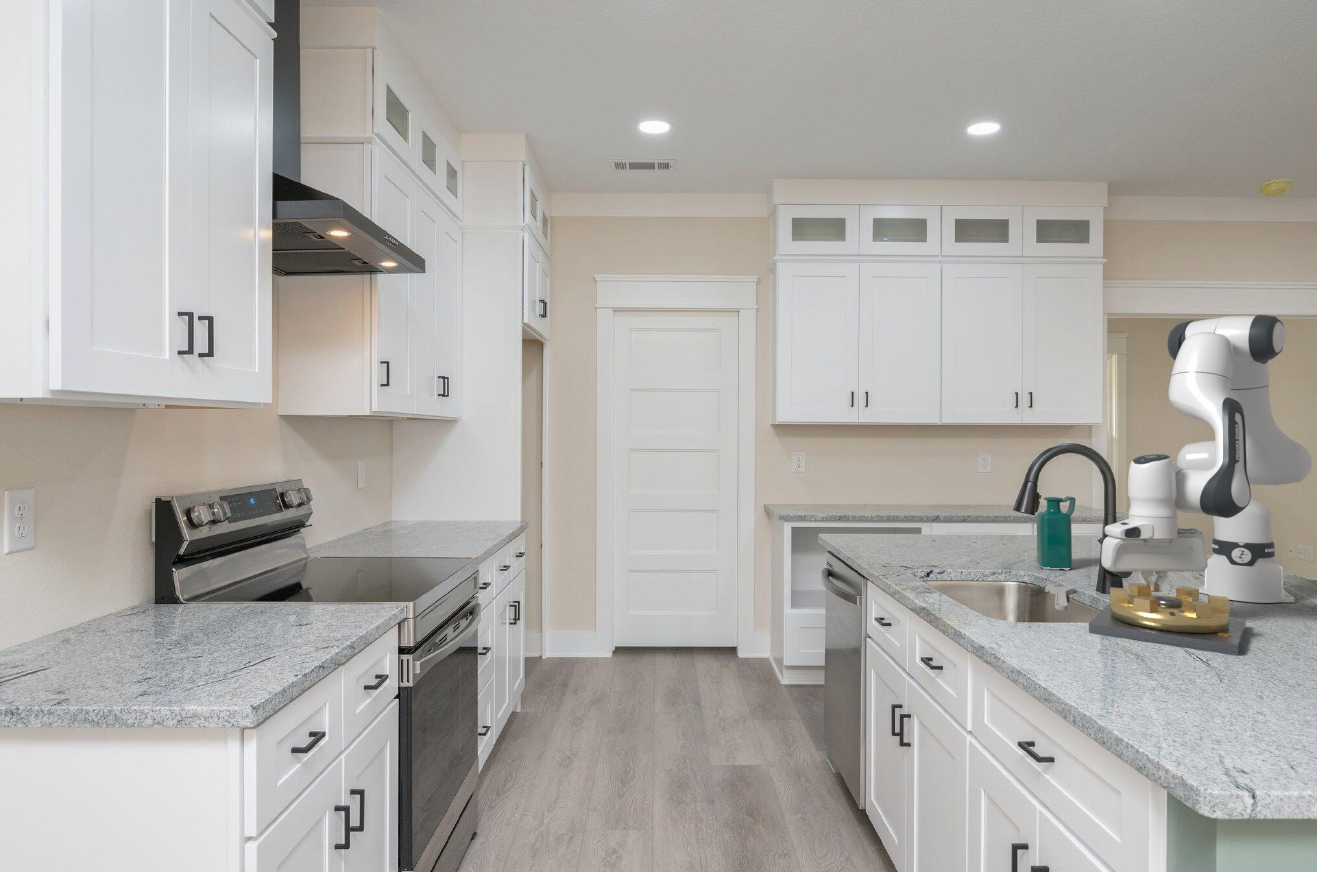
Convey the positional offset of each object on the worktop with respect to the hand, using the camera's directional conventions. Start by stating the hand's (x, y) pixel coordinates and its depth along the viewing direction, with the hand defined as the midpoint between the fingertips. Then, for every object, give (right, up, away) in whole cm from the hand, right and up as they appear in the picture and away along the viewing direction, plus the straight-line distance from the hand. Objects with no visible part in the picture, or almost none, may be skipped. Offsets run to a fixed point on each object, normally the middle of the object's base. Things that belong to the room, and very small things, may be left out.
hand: (1154, 591), depth 154 cm
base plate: (-3, -7, -8) cm, 10 cm away
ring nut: (-3, -4, -8) cm, 9 cm away
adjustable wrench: (-9, -7, +23) cm, 25 cm away
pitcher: (+14, -7, +62) cm, 64 cm away
